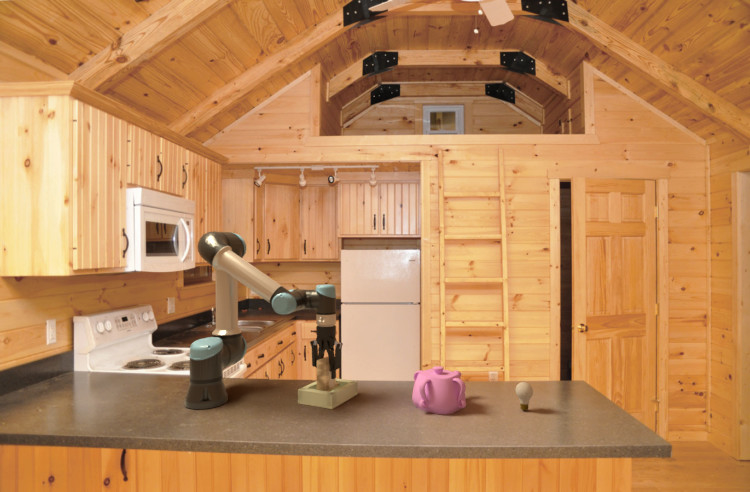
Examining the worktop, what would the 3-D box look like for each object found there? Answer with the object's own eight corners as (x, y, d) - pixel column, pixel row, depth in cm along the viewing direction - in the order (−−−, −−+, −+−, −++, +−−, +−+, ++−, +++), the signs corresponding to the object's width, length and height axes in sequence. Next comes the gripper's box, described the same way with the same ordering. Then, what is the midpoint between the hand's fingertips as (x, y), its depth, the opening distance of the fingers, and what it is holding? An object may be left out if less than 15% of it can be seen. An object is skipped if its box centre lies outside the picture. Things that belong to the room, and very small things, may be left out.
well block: (297, 403, 166) (297, 389, 166) (325, 388, 183) (325, 376, 183) (331, 409, 159) (331, 395, 159) (357, 393, 176) (357, 381, 176)
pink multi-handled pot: (413, 415, 153) (412, 373, 153) (411, 395, 173) (411, 359, 174) (469, 416, 151) (468, 374, 152) (461, 396, 172) (460, 359, 173)
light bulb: (533, 408, 158) (532, 380, 158) (533, 414, 152) (533, 385, 153) (515, 407, 160) (515, 379, 160) (515, 412, 154) (515, 383, 154)
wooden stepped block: (316, 392, 167) (316, 360, 167) (331, 385, 176) (330, 354, 176) (325, 393, 165) (325, 361, 166) (339, 386, 174) (339, 355, 175)
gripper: (302, 324, 170) (302, 386, 170) (340, 328, 163) (340, 392, 162) (313, 322, 177) (313, 380, 177) (350, 325, 169) (350, 386, 169)
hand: (326, 386), depth 170 cm, fingers closed on wooden stepped block, 4 cm apart
